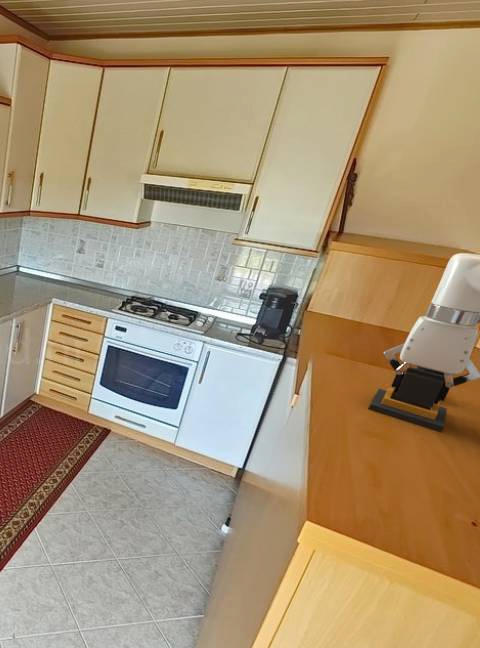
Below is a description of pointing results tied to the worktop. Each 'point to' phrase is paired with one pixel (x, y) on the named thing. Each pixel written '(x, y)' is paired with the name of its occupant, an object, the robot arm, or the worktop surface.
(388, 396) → the base pad
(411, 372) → the black pad
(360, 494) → the worktop surface
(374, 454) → the worktop surface
